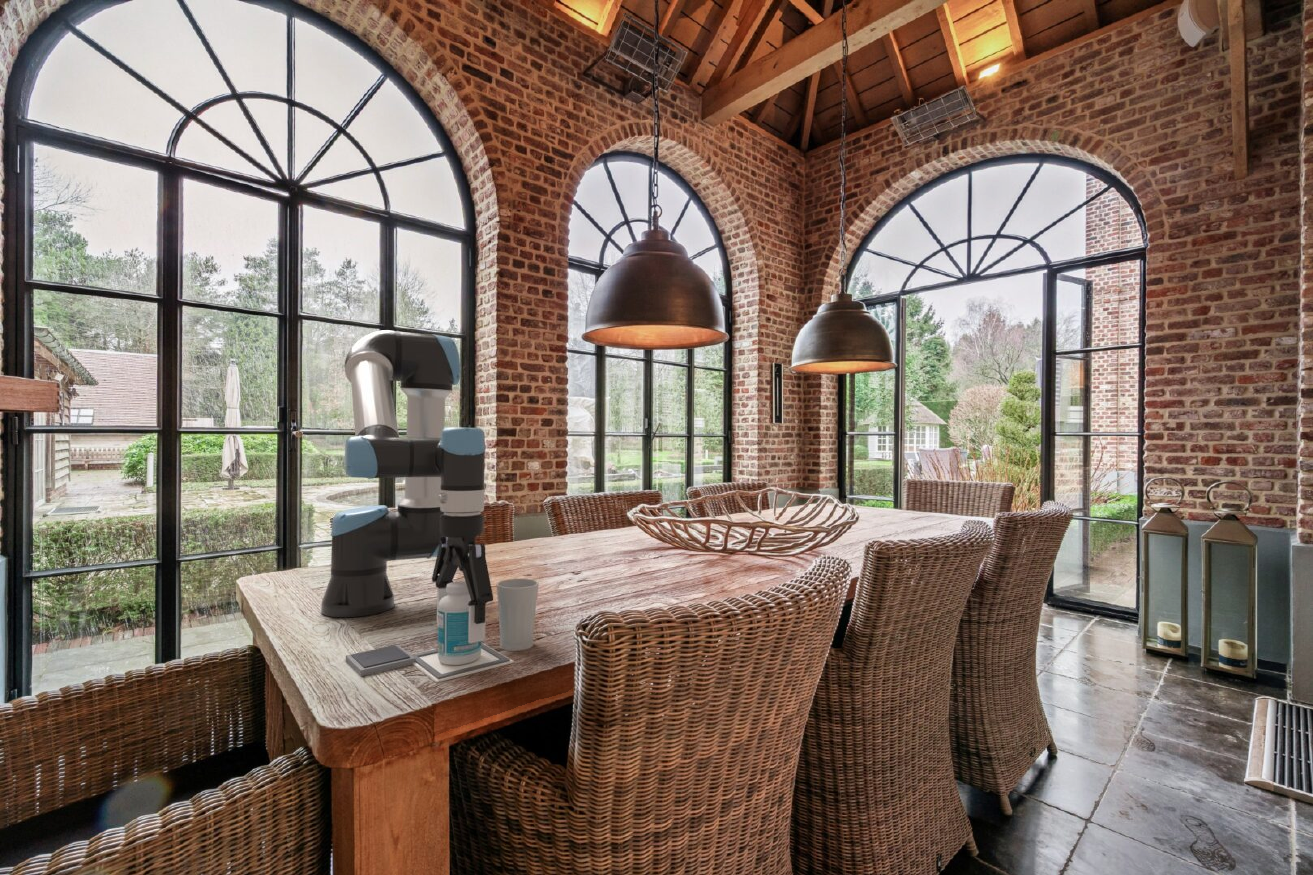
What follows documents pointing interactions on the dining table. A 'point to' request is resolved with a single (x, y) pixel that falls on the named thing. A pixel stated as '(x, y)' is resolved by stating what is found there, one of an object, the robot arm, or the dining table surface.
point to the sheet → (444, 672)
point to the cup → (517, 613)
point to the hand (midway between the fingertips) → (459, 631)
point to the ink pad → (379, 660)
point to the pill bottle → (455, 627)
